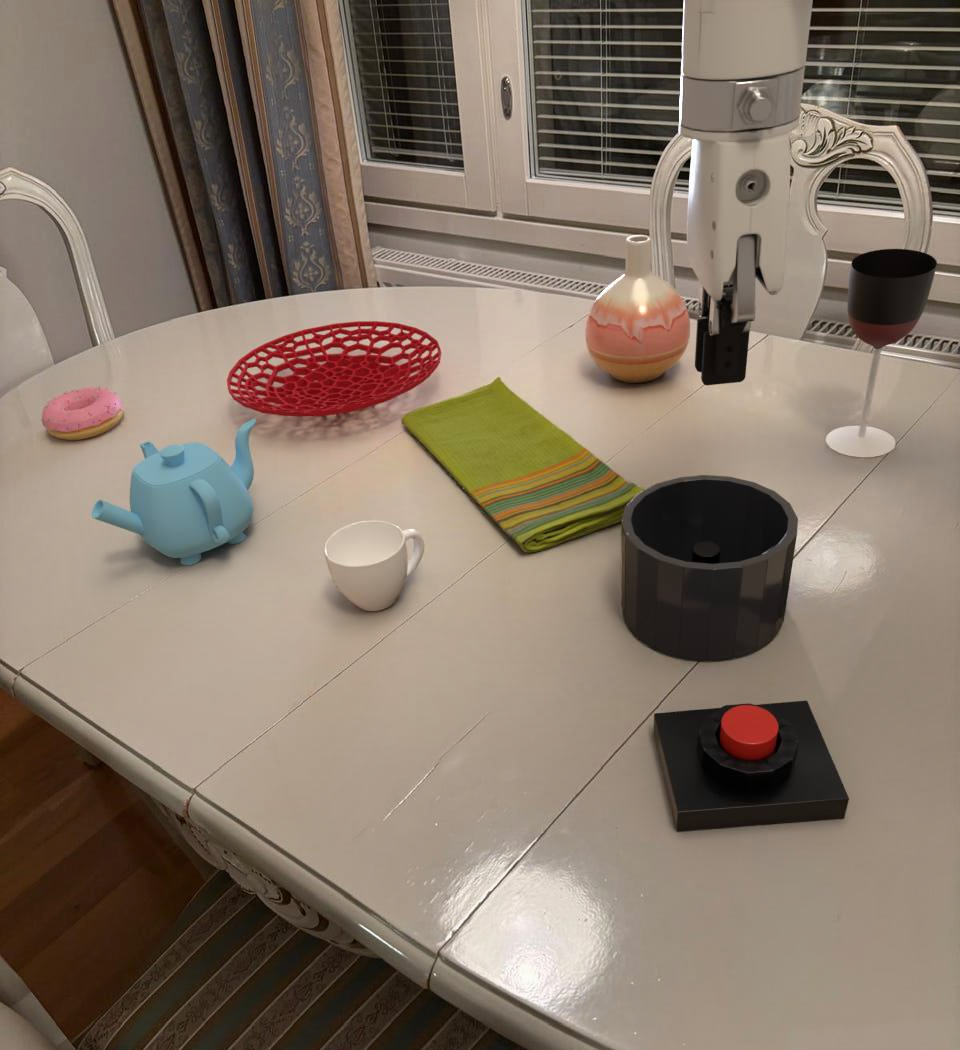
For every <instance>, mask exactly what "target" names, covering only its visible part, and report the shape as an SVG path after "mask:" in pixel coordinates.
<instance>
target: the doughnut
mask: <svg viewBox="0 0 960 1050" xmlns="http://www.w3.org/2000/svg"><path fill="white" fill-rule="evenodd" d="M123 413H124V409H123V402H122V400H121V398H120V397H119V396H118V395H117V392H114V391H112V390H111V389H108V388H103V387H101V386H98V387H97V386H96V387H95V386H94V387H90V386H89V387H83V388H78V389H74V390H71V391H70V390H69V391H66V392H64V393H62V394H60V395H59V396H57V397H54V398H53V399H51V400H50V401H47V404H46V405H45V406H44V407H43V408H42V412H41V419H40V421H41V422H42V423H41V424H42V426H43V427H44V428H45V429H46V431H47V433H48V434H50V435H52V436H53V437H55V438H58V439H61V440H67V441H71V440H72V441H76V440H77V441H78V440H84V439H89V438H93V437H96V436H98V435H101V434H103V433H104V434H105V432H107V431H109V430H111V429H113V428H114V427H115V426H117V424H118V423H119V422H120V420H121V419H122V417H123Z"/></svg>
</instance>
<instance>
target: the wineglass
mask: <svg viewBox="0 0 960 1050" xmlns="http://www.w3.org/2000/svg"><path fill="white" fill-rule="evenodd" d="M937 265H938V261H937V259H936V258H935V257H934V256H933V255H931V254H928V253H927V252H923V251H919V250H913V249H907V248H884V249H876V250H870V251H867V252H863V253H861V254H859V255H857V256H855V257H854V258H853V259H852V261H851V263H850V270H849V278H848V289H847V318H848V322H849V327H850V329H851V331H852V333H853V334H854V335H855V336H856V337H857V338H858V339H859V340H860V341H862V342H863V343H864V344H867V345H869V346H871V347H873V351H872V356H871V362H870V367H869V372H868V378H867V383H866V389H865V394H864V400H863V406H862V410H861V416H860V421H859V425H846V426H841V427H838V428H835V429H833V430H831V431H830V432H828V434H826V438H825V442H826V445H827V446H828V447H829V448H830V449H831V450H832V451H834V452H835V451H836V453H839V454H842V455H844V456H849V457H854V458H856V457H857V458H874V457H879V456H884V455H886V454H888V453H890V452H891V451H893V450H894V449H895V447H896V443H897V442H896V440H895V438H894V437H893V436H892V435H891V434H890V433H889V432H887V431H885V430H883V429H881V428H877V427H873V426H868V422H869V417H870V411H871V406H872V405H871V404H872V400H873V395H874V389H875V386H876V385H875V384H876V380H877V379H876V378H877V376H878V375H877V374H878V369H879V363H880V358H881V353H882V349H883V348H884V347H886V346H889V345H893V344H895V343H896V342H898V341H900V340H903V339H904V338H905V337H907V335H909V334H910V333H911V332H912V331H913V330H914V328H915V327H916V326H917V324H918V322H919V321H920V319H921V317H922V315H923V312H924V310H925V308H926V306H927V302H928V299H929V296H930V293H931V289H932V286H933V282H934V278H935V274H936V269H937Z"/></svg>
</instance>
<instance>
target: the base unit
mask: <svg viewBox="0 0 960 1050" xmlns="http://www.w3.org/2000/svg"><path fill="white" fill-rule="evenodd" d="M740 705H753V706H758V707H761V708H763V709H765V710H767V711H768V712H770V713H771V714H772V715H773V716H774V717H775V718H776V720H777V722H778V727H779V728H778V735H777V741H776V746H775V749H774V751H773V752H772V753H771V754H770V755H768V756H767V757H765V758H762V759H758V760H744V759H741V758H738V757H734V756H732V755H731V754H729V753H728V752H727V751H726V750H725V749H724V748H723V746H722V745H721V742H720V729H721V720H722V717H723V715H724V714H725V713H726V712H727V711H728V710H729V709H731V708H733V707H736V706H740ZM818 725H819V724H818V722H817V720H816V718H815V716H814V714H813V711H812V709H811V706H810V704H809V702H808V700H795V701H784V702H773V703H772V702H771V703H762V704H761V703H760V704H754V703H737V704H726V705H723V706H721V707H714V708H713V707H711V708H700V709H690V710H679V711H678V710H677V711H667V712H665V711H664V712H655V713H653V729H652V731H653V732H652V733H653V736H654V741H655V746H656V749H657V753H658V759H659V763H660V767H661V771H662V775H663V779H664V784H665V788H666V792H667V797H668V799H669V806H670V809H671V814H672V818H673V822H674V826H675V831H676V832H689V831H700V830H714V829H725V828H726V829H727V828H740V827H751V826H752V827H753V826H763V825H765V826H767V825H777V824H778V825H779V824H790V823H802V822H813V821H814V822H815V821H827V820H828V821H829V820H839V819H840V820H841V819H845V817H846V813H847V810H848V805H849V801H850V797H849V795H848V792H847V790H846V788H845V785H844V783H843V781H842V778H841V776H840V774H839V772H838V771H839V770H838V769H837V767H836V764H835V762H834V760H833V758H832V757H833V756H832V755H831V753H830V750H829V748H828V746H827V744H826V742H825V739H824V737H823V735H822V734H823V733H822V732H821V729H820V727H819V726H818Z"/></svg>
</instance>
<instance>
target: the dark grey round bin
mask: <svg viewBox="0 0 960 1050" xmlns="http://www.w3.org/2000/svg"><path fill="white" fill-rule="evenodd" d="M644 489H645V488H644ZM798 525H799V517H798V516H797V514H796V512H795V510H794V509H793V506H792V505H791V502H789V501H787V500H786V498H784V497H782V495H780V494H779V493H778V492H777V491H775V490H773V489H771V488H768V487H766V486H764V485H761V484H759V483H758V482H754V481H751V480H747V479H743V478H738V477H734V476H729V475H728V476H727V475H715V474H714V475H713V474H699V475H690V476H689V475H688V476H680V477H675V478H671V479H668V480H664V481H661V482H657V483H655V484H653V485H651V486H649V487H647V488H646V489H645V490H644V491H642V492H640V493H638V494H637V495H636V496H635V497H634V498H633V499H632V500H631V501H630V502H629V503H628V504H627V505H626V508H625V511H624V514H623V517H622V521H621V532H620V533H621V538H620V539H621V540H620V541H621V542H620V543H621V546H620V547H621V549H620V550H621V552H620V554H621V555H620V557H621V559H620V561H621V562H620V564H621V566H620V568H621V569H620V570H621V571H620V574H621V575H620V577H621V579H620V583H621V584H620V589H621V590H620V591H621V593H620V603H621V604H620V606H621V611H622V612H621V613H622V619H623V621H624V624H625V626H626V627H627V629H628V630H629V632H630V633H631V634H632V635H633V636H634V637H635V638H636V640H638V641H639V642H641V643H642V644H644V646H646V647H648V648H650V649H651V650H653V651H655V652H658V653H660V654H663V655H665V656H668V657H672V658H674V659H679V660H684V661H690V662H698V663H699V662H700V663H701V662H702V663H713V662H717V663H718V662H725V661H726V662H727V661H731V660H737V659H740V658H743V657H747V656H749V655H752V654H754V653H757V652H759V651H761V650H762V649H764V648H765V647H766V646H768V645H769V644H770V643H772V642H773V641H774V639H775V638H776V637H777V636H778V635H779V633H780V631H781V629H782V627H783V624H784V622H785V616H786V611H787V604H788V603H787V602H788V597H789V592H790V591H789V589H790V583H791V576H792V572H793V571H792V570H793V564H794V557H795V551H796V545H797V544H796V543H797V538H798V537H797V536H798ZM703 541H709V542H713V543H716V544H717V545H718V546H719V547H720V561H719V563H718V564H708V563H696V562H692V549H693V546H694V545H695V544H696V543H699V542H703Z"/></svg>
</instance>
